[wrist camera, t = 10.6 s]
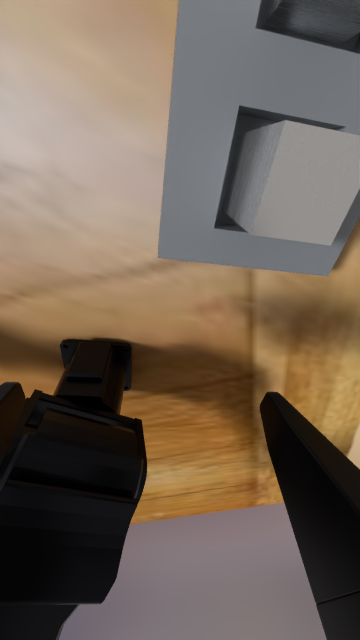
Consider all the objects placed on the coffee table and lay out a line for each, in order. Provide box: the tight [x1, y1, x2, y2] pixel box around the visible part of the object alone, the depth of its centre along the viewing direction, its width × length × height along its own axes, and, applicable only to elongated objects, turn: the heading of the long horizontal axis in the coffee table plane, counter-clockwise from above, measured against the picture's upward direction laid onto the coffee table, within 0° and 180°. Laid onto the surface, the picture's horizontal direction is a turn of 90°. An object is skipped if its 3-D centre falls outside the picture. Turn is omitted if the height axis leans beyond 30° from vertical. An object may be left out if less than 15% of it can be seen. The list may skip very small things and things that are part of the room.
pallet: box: [158, 0, 360, 276], centre depth 12 cm, size 18×12×3 cm, turn 172°
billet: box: [223, 120, 360, 246], centre depth 12 cm, size 4×4×6 cm
